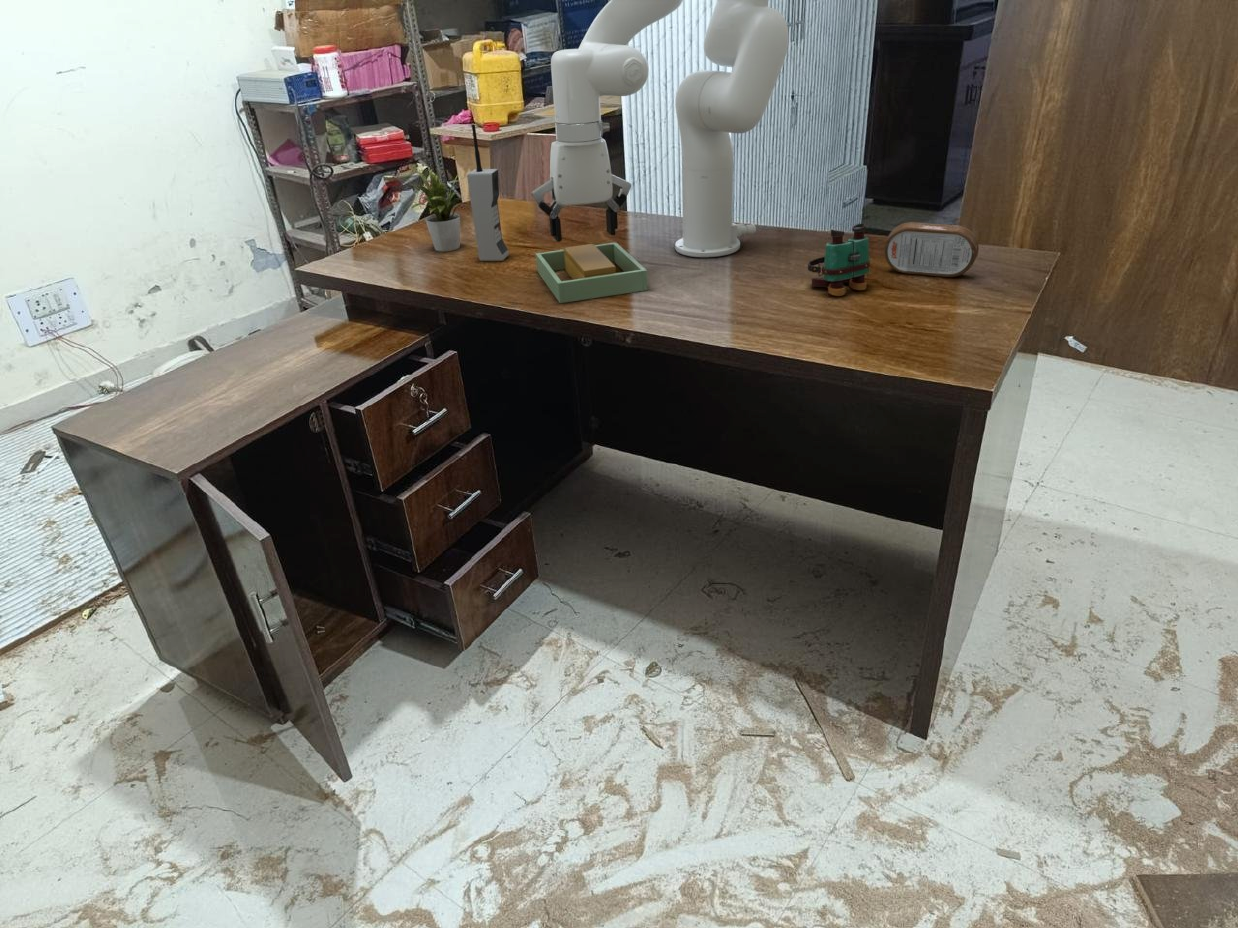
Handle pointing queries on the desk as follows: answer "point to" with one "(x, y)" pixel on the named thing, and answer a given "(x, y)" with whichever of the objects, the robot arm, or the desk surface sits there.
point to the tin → (931, 249)
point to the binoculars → (843, 262)
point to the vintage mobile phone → (486, 210)
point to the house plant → (441, 214)
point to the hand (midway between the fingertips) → (584, 236)
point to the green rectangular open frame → (593, 286)
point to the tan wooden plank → (587, 262)
